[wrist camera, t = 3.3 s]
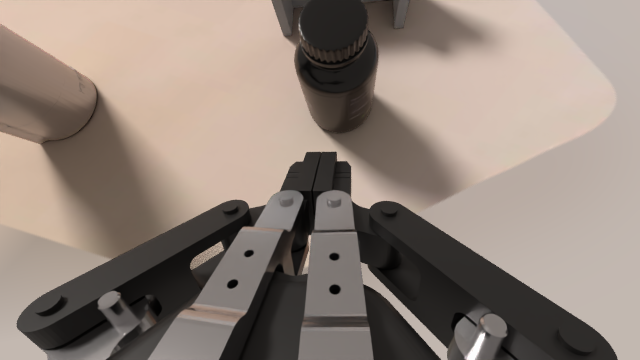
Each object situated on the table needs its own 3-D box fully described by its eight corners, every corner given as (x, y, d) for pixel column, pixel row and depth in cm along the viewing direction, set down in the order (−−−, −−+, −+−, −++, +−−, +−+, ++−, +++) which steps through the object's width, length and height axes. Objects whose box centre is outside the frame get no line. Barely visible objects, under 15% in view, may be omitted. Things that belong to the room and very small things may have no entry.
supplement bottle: (297, 115, 30) (261, 34, 18) (332, 68, 31) (319, -38, 19) (348, 147, 28) (345, 80, 17) (384, 96, 29) (404, 0, 18)
